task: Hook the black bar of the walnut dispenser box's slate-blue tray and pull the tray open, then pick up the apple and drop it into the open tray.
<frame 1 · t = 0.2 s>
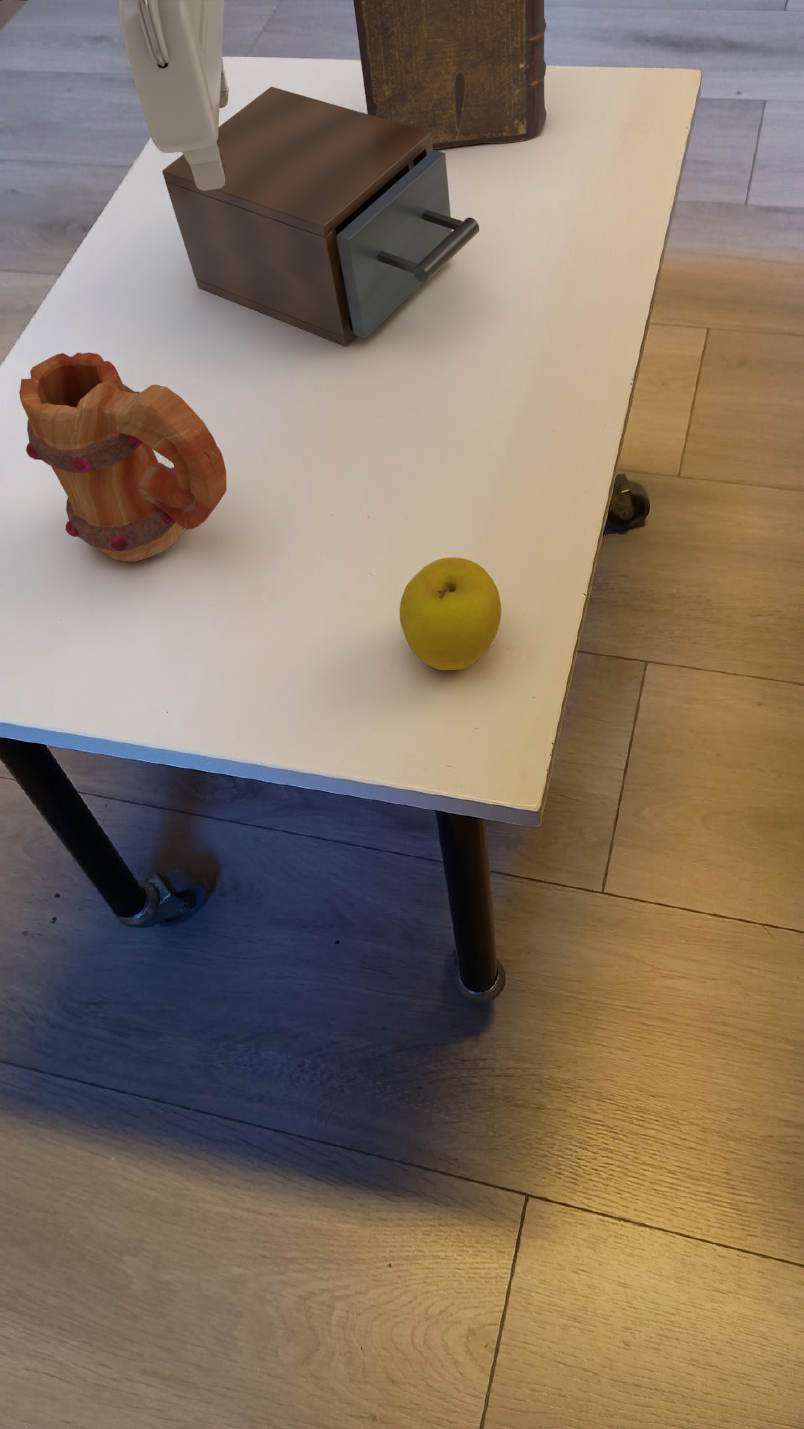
hand: (214, 141, 71), 21 cm above the table, tool pointing down, fingers open, 8 cm apart
apple: (455, 654, 73), on the table
drawer: (352, 229, 91), point 5 cm above the table, slide at 0.5 cm
book: (459, 137, 106), on the table
mug: (167, 545, 81), on the table
cabinet: (319, 270, 97), on the table
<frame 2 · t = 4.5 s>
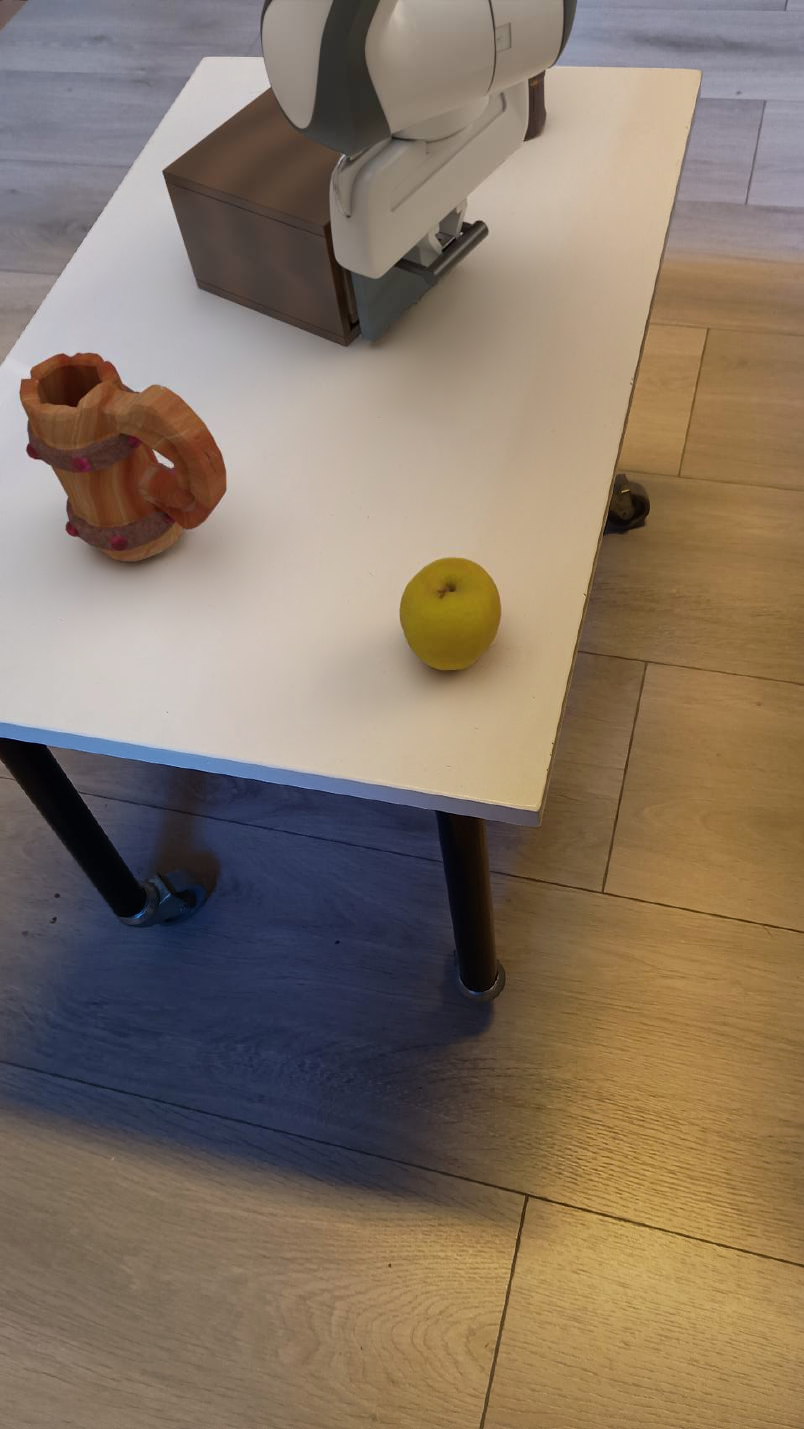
hand: (441, 259, 87), 5 cm above the table, tool pointing down, fingers closed
drawer: (360, 232, 90), point 5 cm above the table, slide at 1.4 cm
everything else where it was.
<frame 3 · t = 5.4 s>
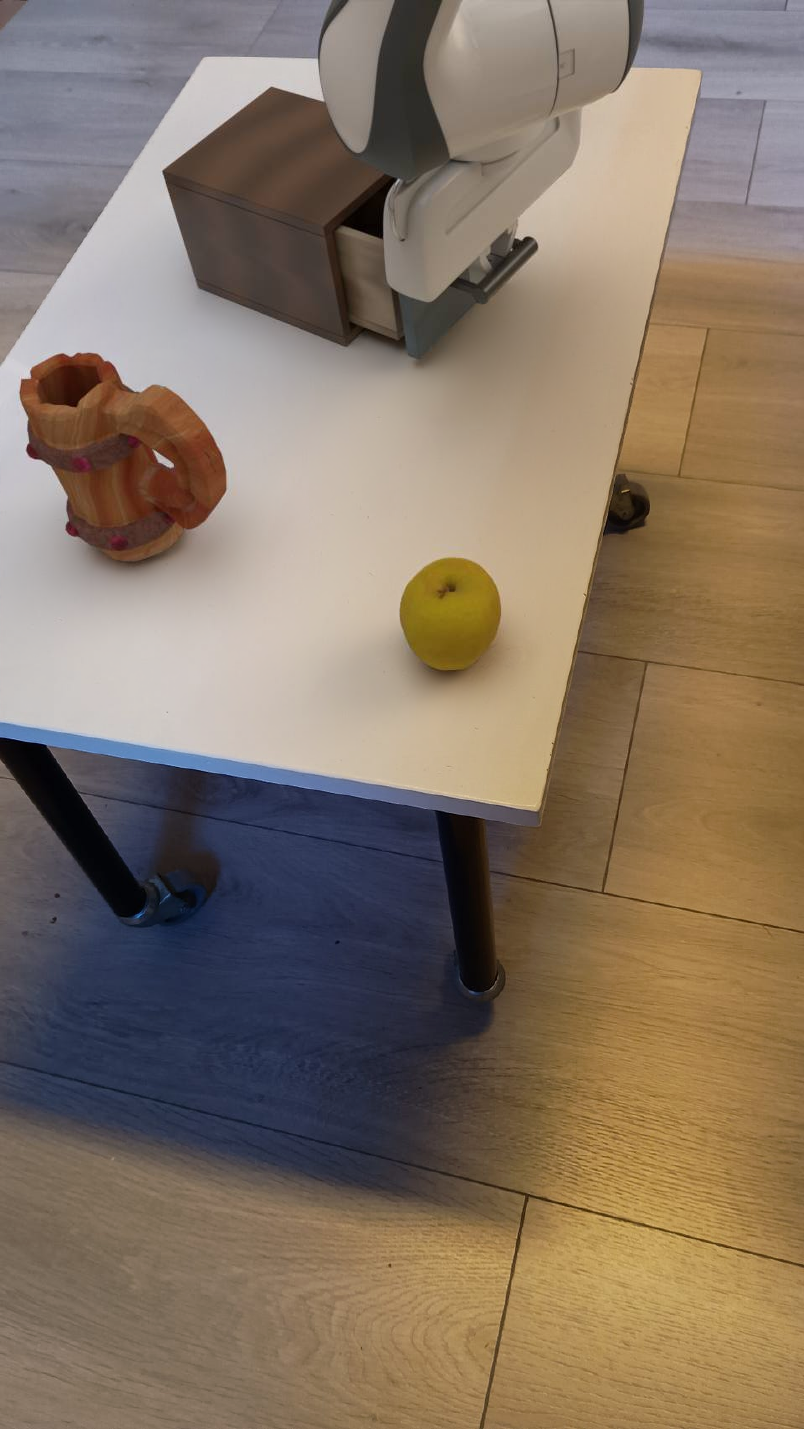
hand: (490, 280, 86), 5 cm above the table, tool pointing down, fingers closed, pressing on drawer
drawer: (405, 247, 88), point 5 cm above the table, slide at 5.9 cm, touching gripper
everything else where it was.
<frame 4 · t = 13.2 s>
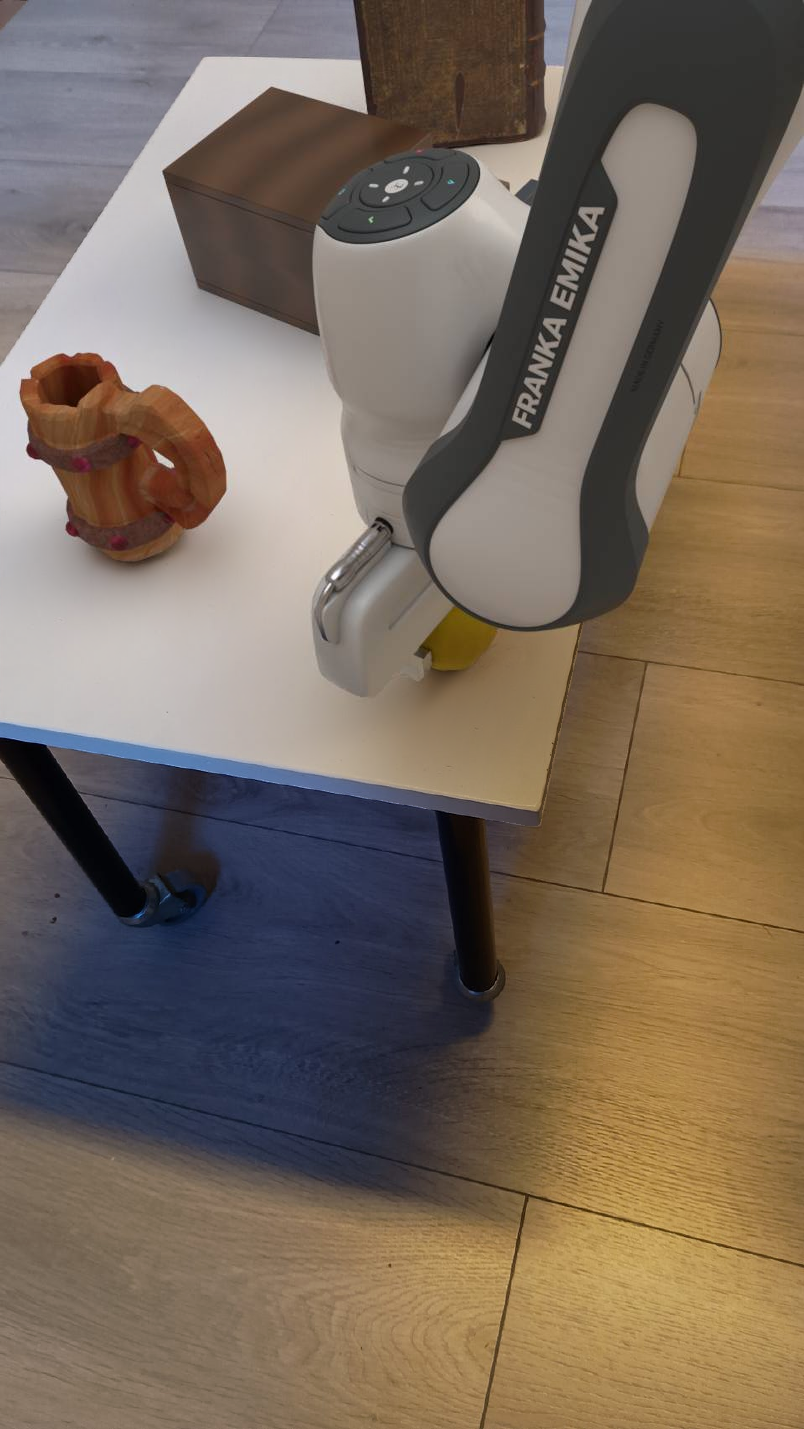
hand: (452, 626, 70), 3 cm above the table, tool pointing down, fingers closed on apple, 6 cm apart
apple: (455, 654, 73), on the table, touching gripper
drawer: (443, 260, 87), point 5 cm above the table, slide at 9.6 cm
everything else where it was.
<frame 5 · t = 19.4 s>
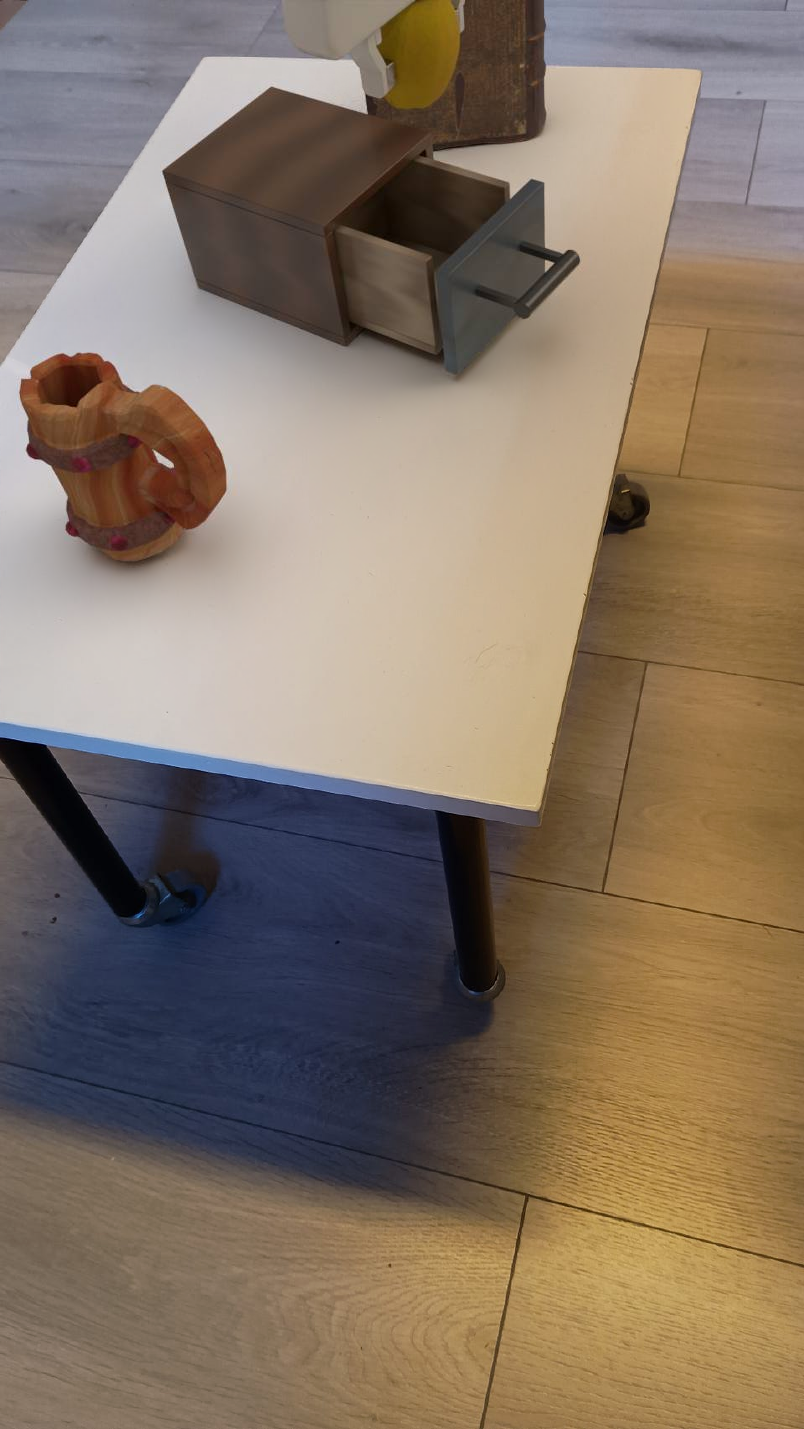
hand: (415, 62, 75), 20 cm above the table, tool pointing down, fingers closed on apple, 6 cm apart
apple: (418, 106, 77), point 17 cm above the table, touching gripper
everything else where it was.
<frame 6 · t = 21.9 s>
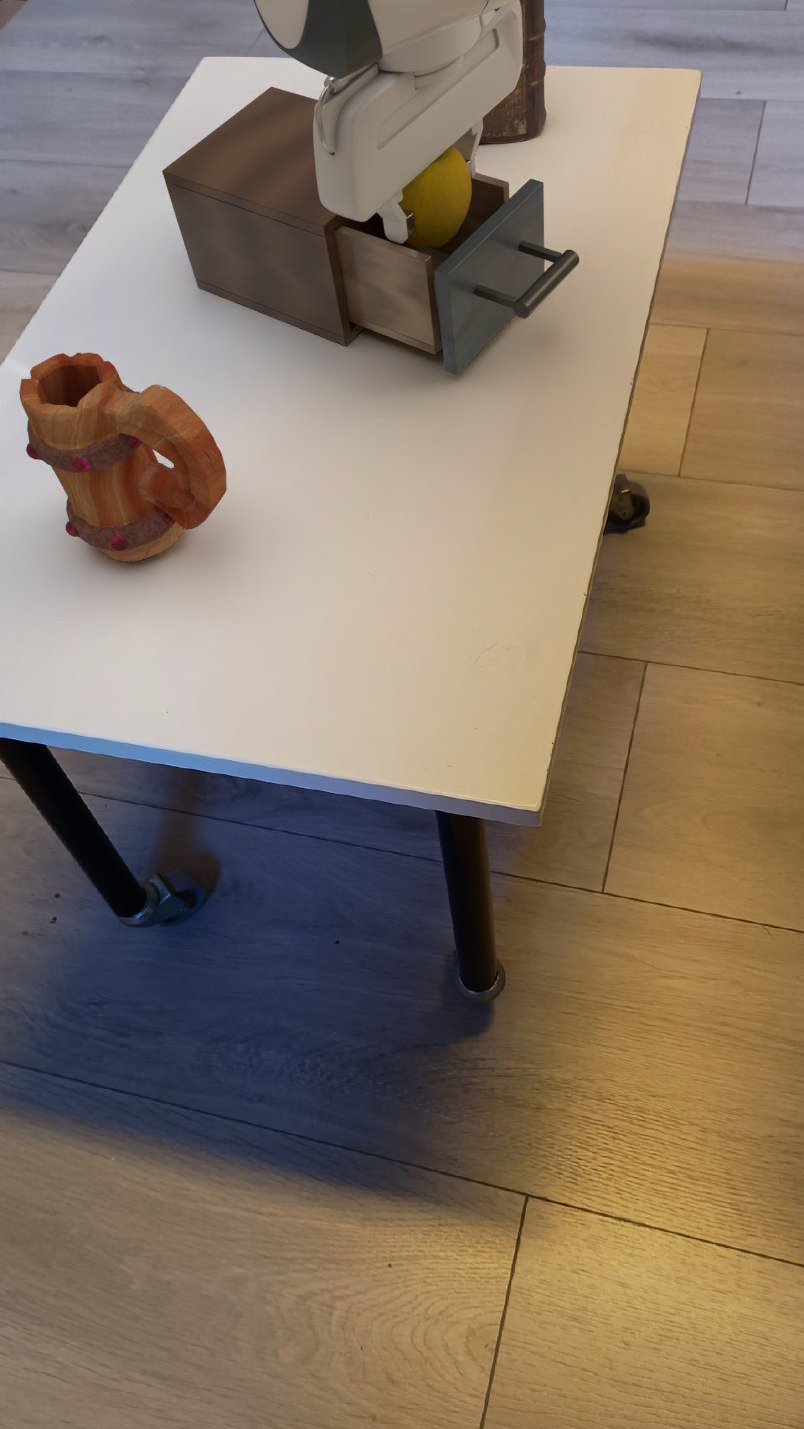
hand: (431, 208, 84), 10 cm above the table, tool pointing down, fingers closed on apple, 6 cm apart
apple: (434, 243, 86), point 7 cm above the table, touching gripper
everything else where it was.
when the fingers open (10 cm above the table, at t = 25.8 s): apple drops 4 cm, resting on drawer.
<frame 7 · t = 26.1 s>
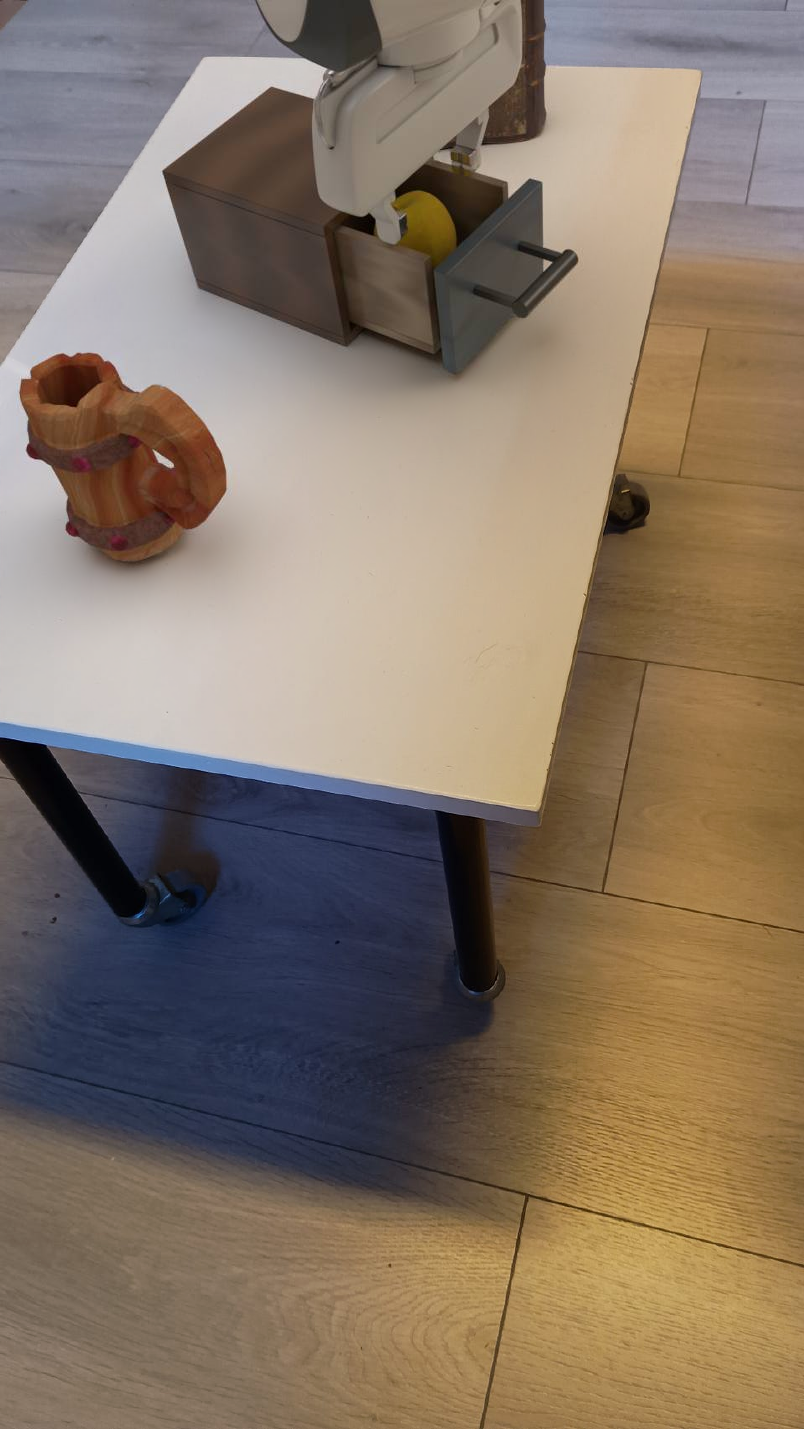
hand: (431, 203, 83), 10 cm above the table, tool pointing down, fingers open, 8 cm apart
apple: (439, 286, 89), point 3 cm above the table, touching drawer
drawer: (441, 260, 87), point 5 cm above the table, slide at 9.5 cm, touching apple
everything else where it was.
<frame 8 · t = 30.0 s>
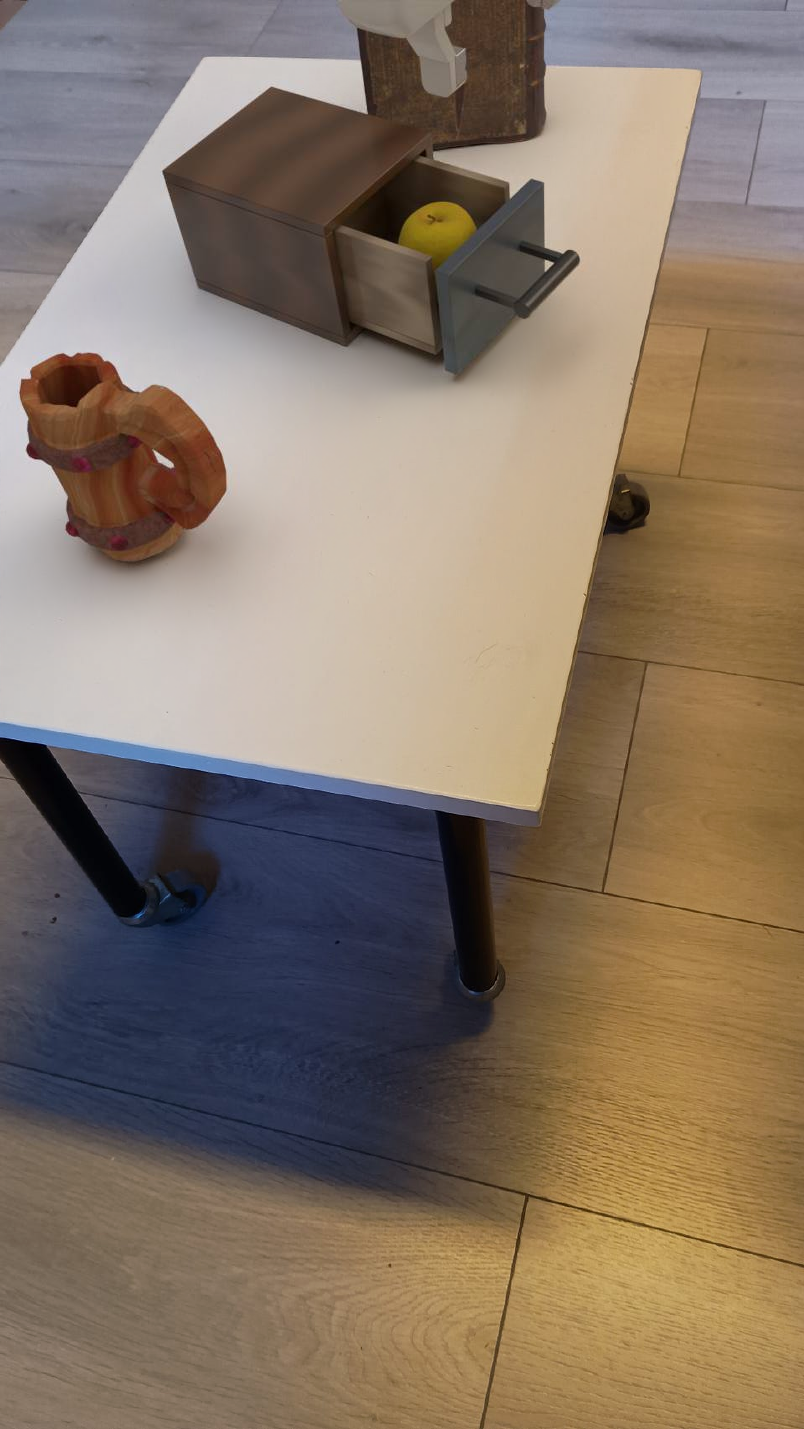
hand: (497, 43, 58), 29 cm above the table, tool pointing down, fingers open, 8 cm apart
at the end: drawer slide at 9.6 cm; apple inside the target area in the drawer (0.2 cm from its centre), point 1.9 cm above the cabinet's base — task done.
